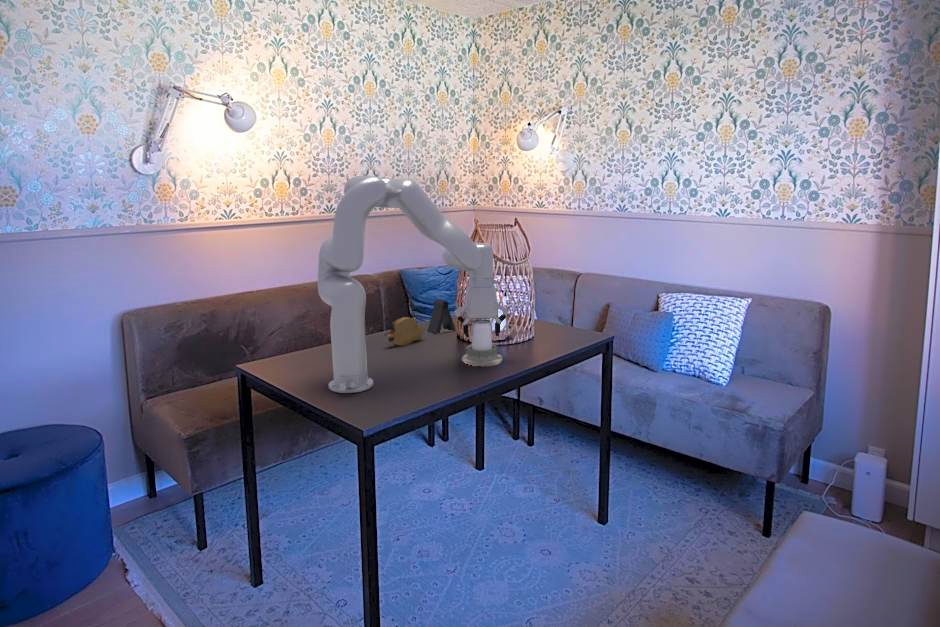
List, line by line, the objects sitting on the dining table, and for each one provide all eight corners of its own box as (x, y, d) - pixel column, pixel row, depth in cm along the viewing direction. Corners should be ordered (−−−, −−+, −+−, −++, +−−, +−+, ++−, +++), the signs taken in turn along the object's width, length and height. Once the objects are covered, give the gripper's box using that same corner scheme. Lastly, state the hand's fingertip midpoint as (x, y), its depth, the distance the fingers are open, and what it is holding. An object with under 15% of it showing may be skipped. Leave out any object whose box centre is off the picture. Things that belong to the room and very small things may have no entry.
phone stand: (447, 328, 249) (446, 297, 247) (455, 330, 244) (455, 300, 242) (427, 331, 244) (426, 300, 242) (435, 334, 239) (435, 303, 237)
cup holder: (505, 365, 200) (505, 351, 199) (463, 367, 198) (463, 353, 198) (499, 354, 212) (499, 341, 211) (460, 355, 211) (460, 342, 210)
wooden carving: (416, 338, 234) (415, 312, 232) (425, 340, 231) (424, 313, 229) (383, 348, 222) (381, 320, 220) (391, 350, 219) (390, 322, 217)
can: (492, 354, 208) (492, 319, 206) (491, 360, 202) (491, 323, 199) (472, 354, 209) (472, 318, 206) (471, 360, 202) (470, 323, 200)
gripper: (506, 280, 204) (506, 331, 208) (453, 281, 203) (454, 333, 206) (510, 284, 197) (510, 337, 201) (454, 285, 195) (455, 339, 199)
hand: (481, 335), depth 204 cm, fingers open, 9 cm apart
